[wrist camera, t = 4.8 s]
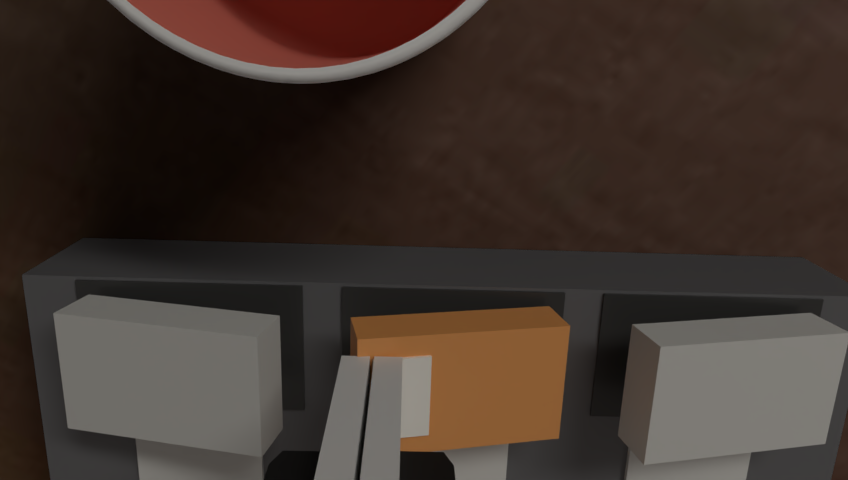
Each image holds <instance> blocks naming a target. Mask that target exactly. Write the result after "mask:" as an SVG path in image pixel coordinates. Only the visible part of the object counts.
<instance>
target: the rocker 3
mask: <svg viewBox="0 0 848 480" xmlns="http://www.w3.org/2000/svg"><path fill="white" fill-rule="evenodd" d="M847 346H848V331H846V330H844V329H842V328H840V327H838V326H836V325H834V324H832V323H830V322H828V321H826V320H824V319H822V318H820V317H818V316H816V315H814V314H812V313H799V314H784V315H768V316H753V317H738V318H722V319H707V320H692V321H676V322H661V323H646V324H632V329H631V336H630V344H629V352H628V360H627V368H626V375H625V383H624V391H623V399H622V406H621V414H620V422H619V430H618V436H619V437H620V439H621V440H622V441H623V442H624V443H625V444H626V445H627V446H628V448H629V449H630V450H631V451H632V452H633V453H634V454H635V455H636V457H637V458H638V459H639V460H640V461H641V462H642V463H643V464H644V465H648V464H656V463H665V462H674V461H682V460H691V459H699V458H708V457H717V456H725V455H734V454H742V453H751V452H759V451H768V450H777V449H785V448H794V447H802V446H811V445H820V444H825V443H826V438H827V434H828V429H829V425H830V421H831V416H832V412H833V407H834V403H835V399H836V394H837V390H838V385H839V381H840V377H841V372H842V368H843V363H844V359H845V354H846V350H847Z"/></svg>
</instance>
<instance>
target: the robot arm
mask: <svg viewBox="0 0 848 480" xmlns="http://www.w3.org/2000/svg"><path fill="white" fill-rule="evenodd" d="M402 362H403V357H383V356H374V363H373V371H372V380H371V389H370V356H363V357H357V356H341V360H340V365H339V369H338V374H337V378H336V383H335V387H334V392H333V396H332V401H331V405H330V410H329V414H328V419H327V423H326V428H325V432H324V437H323V441H322V446H321V450H320V451H282V452H281V453H280V454H279V455H278V456H277V457H276V458H274V459H273V460H272V461H271V462H270V463H269V465H268V468H267V471H266V474H265V477H264V480H455V471H454V465H453V464H452V462H451V461H450V460H449V458H448V457H447V456H446V454H445V453H444V452H419V451H400V438H401V400H402Z"/></svg>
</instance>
